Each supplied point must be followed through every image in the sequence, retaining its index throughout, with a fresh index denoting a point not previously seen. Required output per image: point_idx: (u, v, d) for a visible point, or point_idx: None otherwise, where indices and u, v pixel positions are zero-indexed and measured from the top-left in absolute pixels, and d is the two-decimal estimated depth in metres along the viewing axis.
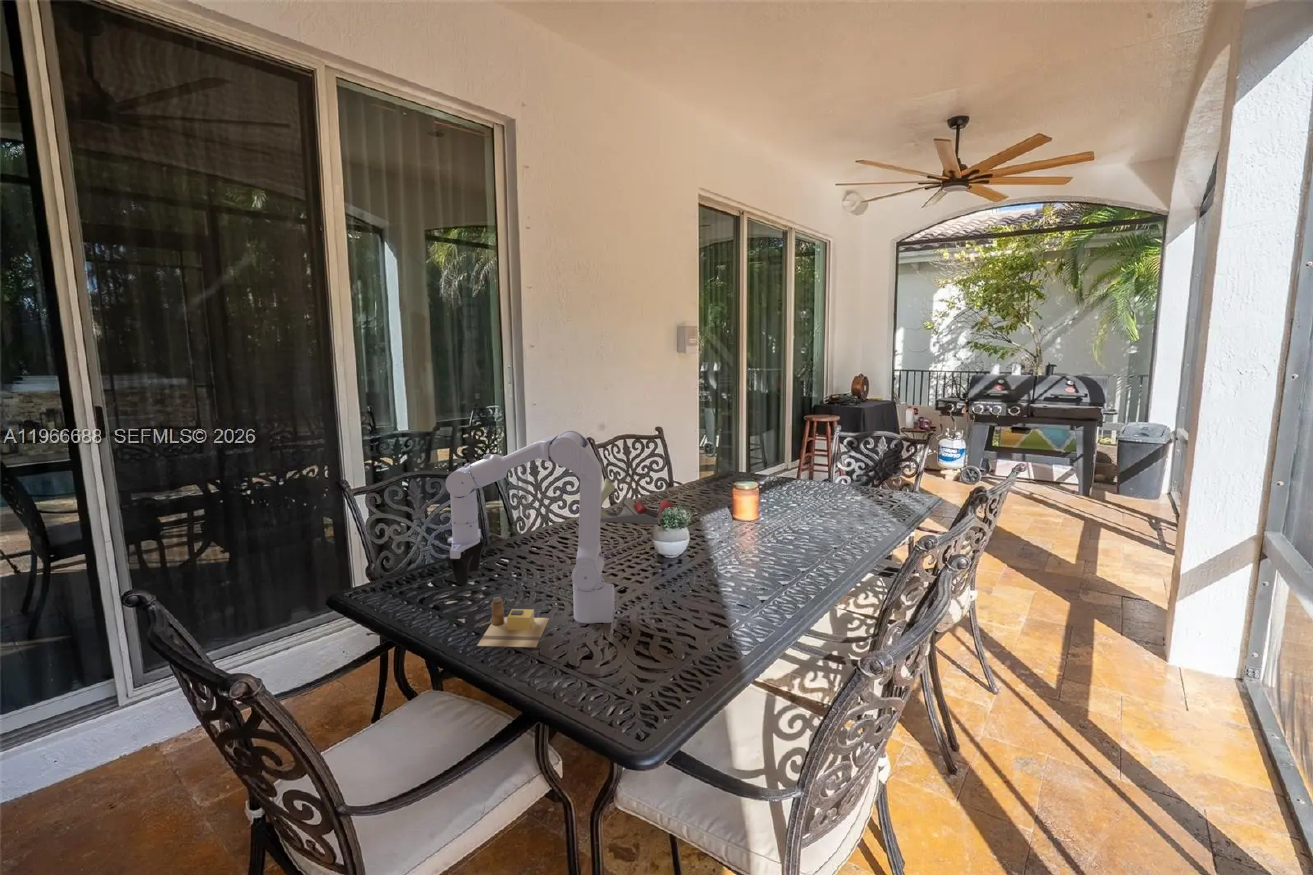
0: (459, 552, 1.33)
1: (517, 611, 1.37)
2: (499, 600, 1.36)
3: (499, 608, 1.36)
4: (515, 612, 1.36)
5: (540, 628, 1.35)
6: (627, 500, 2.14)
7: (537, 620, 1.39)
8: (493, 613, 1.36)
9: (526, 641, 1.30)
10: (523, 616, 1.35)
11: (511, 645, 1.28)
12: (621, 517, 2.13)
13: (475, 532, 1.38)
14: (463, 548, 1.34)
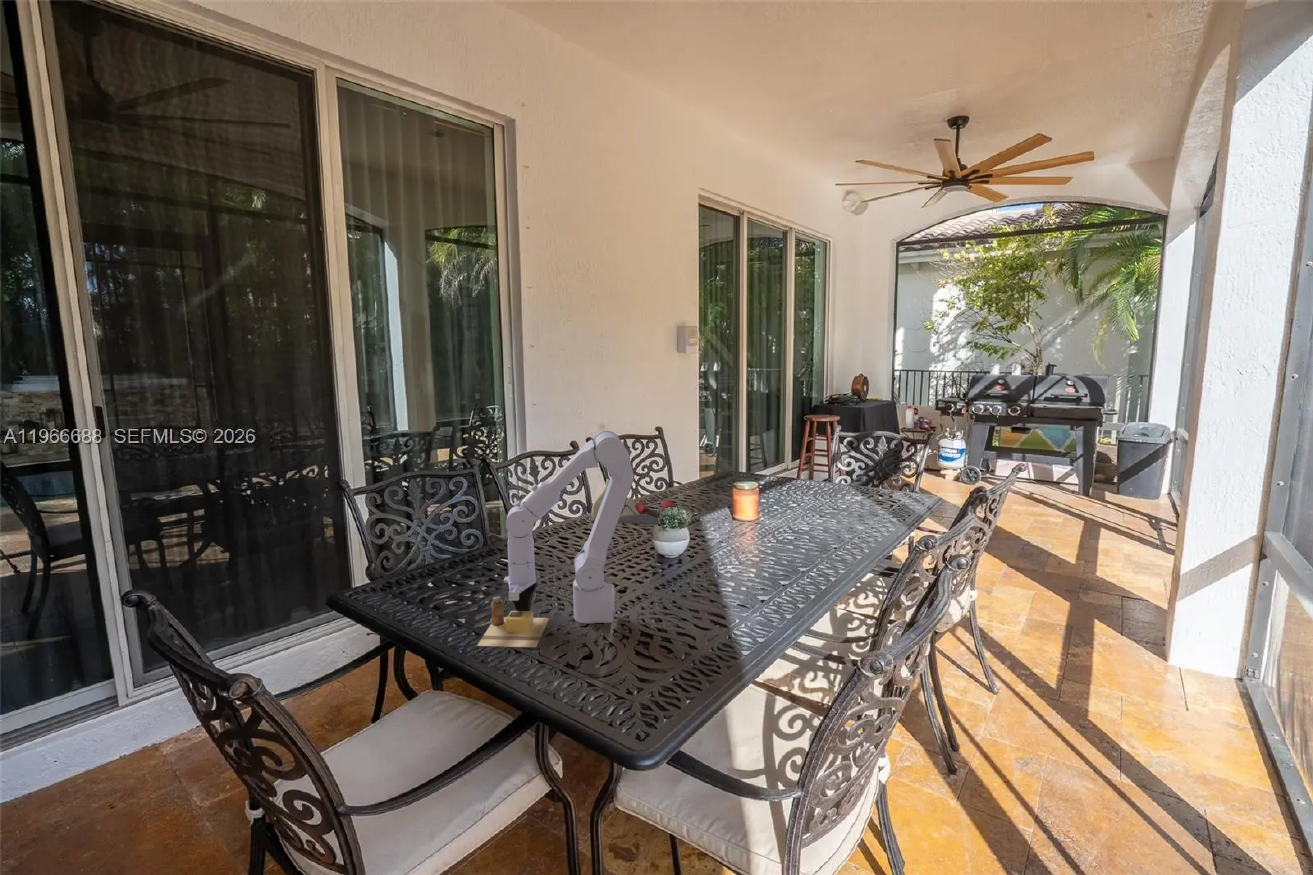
0: (518, 594, 1.30)
1: (516, 612, 1.36)
2: (499, 600, 1.36)
3: (499, 608, 1.36)
4: (514, 614, 1.35)
5: (540, 628, 1.35)
6: (629, 500, 2.14)
7: (537, 620, 1.39)
8: (493, 613, 1.36)
9: (526, 641, 1.30)
10: (522, 618, 1.34)
11: (511, 645, 1.28)
12: (623, 517, 2.13)
13: (531, 572, 1.36)
14: (521, 589, 1.32)
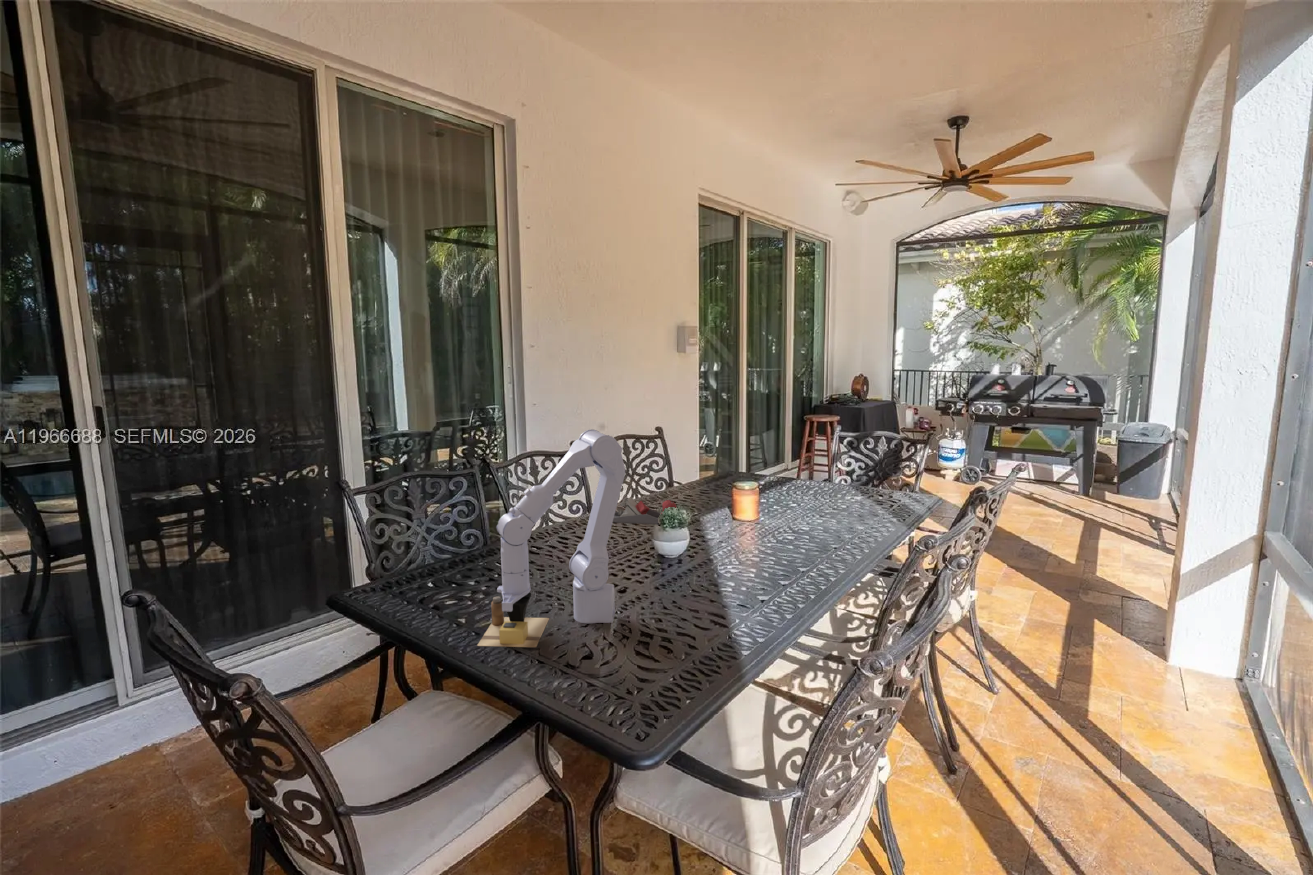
0: (511, 604, 1.25)
1: (510, 623, 1.31)
2: (499, 600, 1.36)
3: (499, 608, 1.36)
4: (508, 625, 1.30)
5: (540, 628, 1.35)
6: (629, 500, 2.14)
7: (537, 620, 1.39)
8: (493, 613, 1.36)
9: (526, 641, 1.30)
10: (516, 629, 1.29)
11: (511, 645, 1.28)
12: (623, 517, 2.13)
13: (526, 581, 1.30)
14: (515, 600, 1.27)
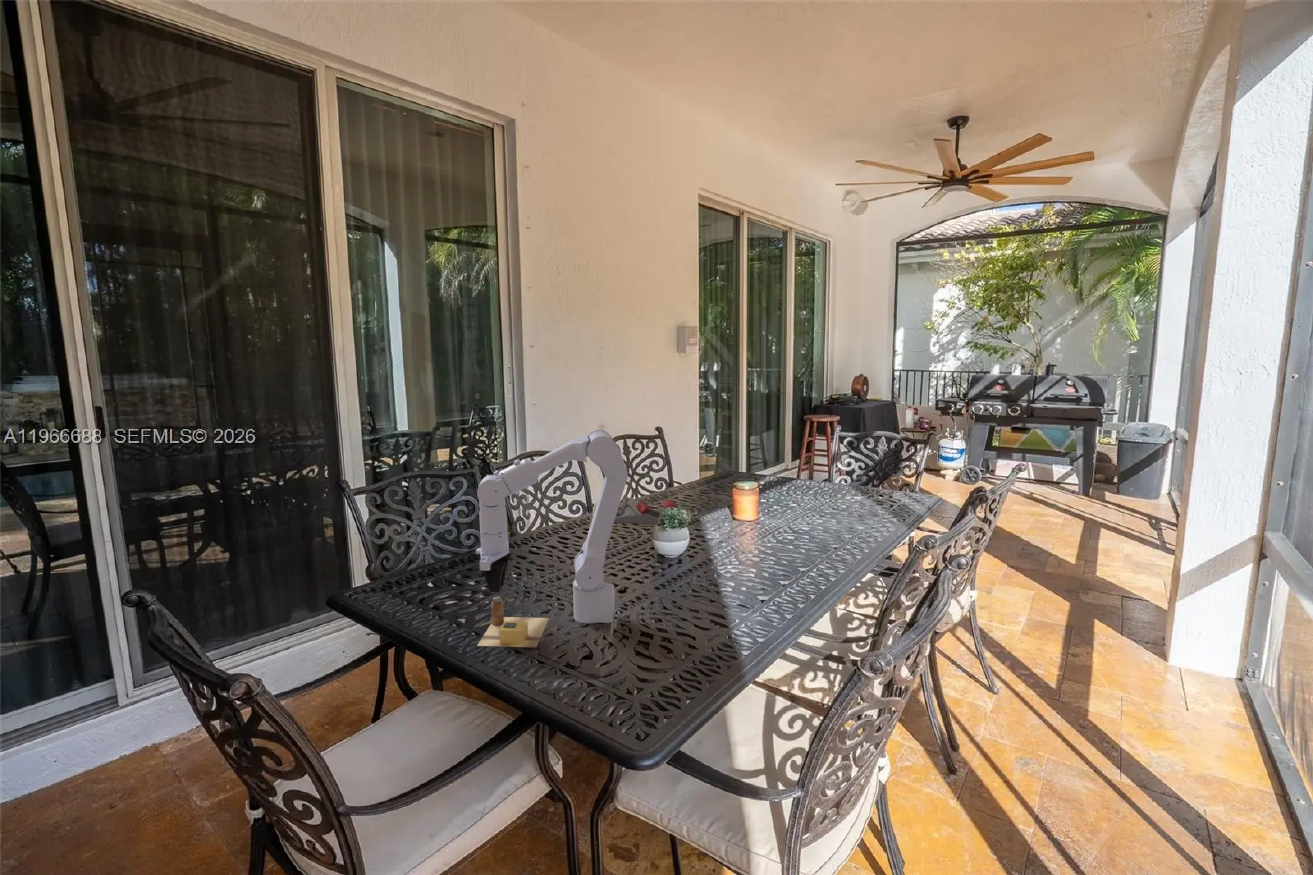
0: (489, 564, 1.28)
1: (510, 623, 1.31)
2: (499, 600, 1.36)
3: (499, 608, 1.36)
4: (508, 625, 1.30)
5: (540, 628, 1.35)
6: (630, 500, 2.14)
7: (537, 620, 1.39)
8: (493, 613, 1.36)
9: (526, 641, 1.30)
10: (516, 629, 1.29)
11: (511, 645, 1.28)
12: (624, 517, 2.13)
13: (504, 542, 1.33)
14: (493, 559, 1.30)
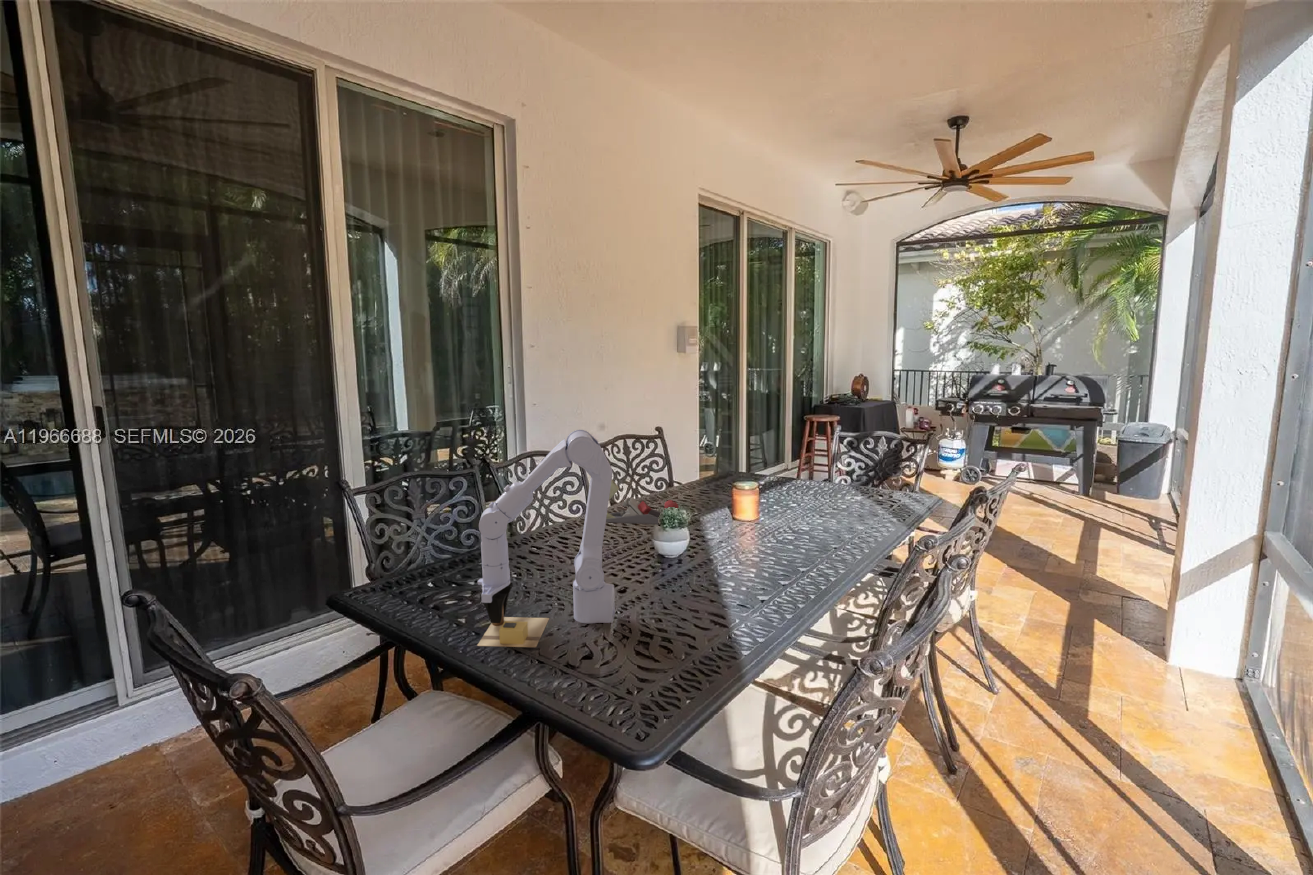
0: (491, 596, 1.29)
1: (510, 623, 1.31)
2: None
3: None
4: (508, 625, 1.30)
5: (540, 628, 1.35)
6: (631, 500, 2.14)
7: (537, 620, 1.39)
8: None
9: (526, 641, 1.30)
10: (516, 629, 1.29)
11: (511, 645, 1.28)
12: (625, 517, 2.12)
13: (505, 573, 1.34)
14: (494, 591, 1.31)
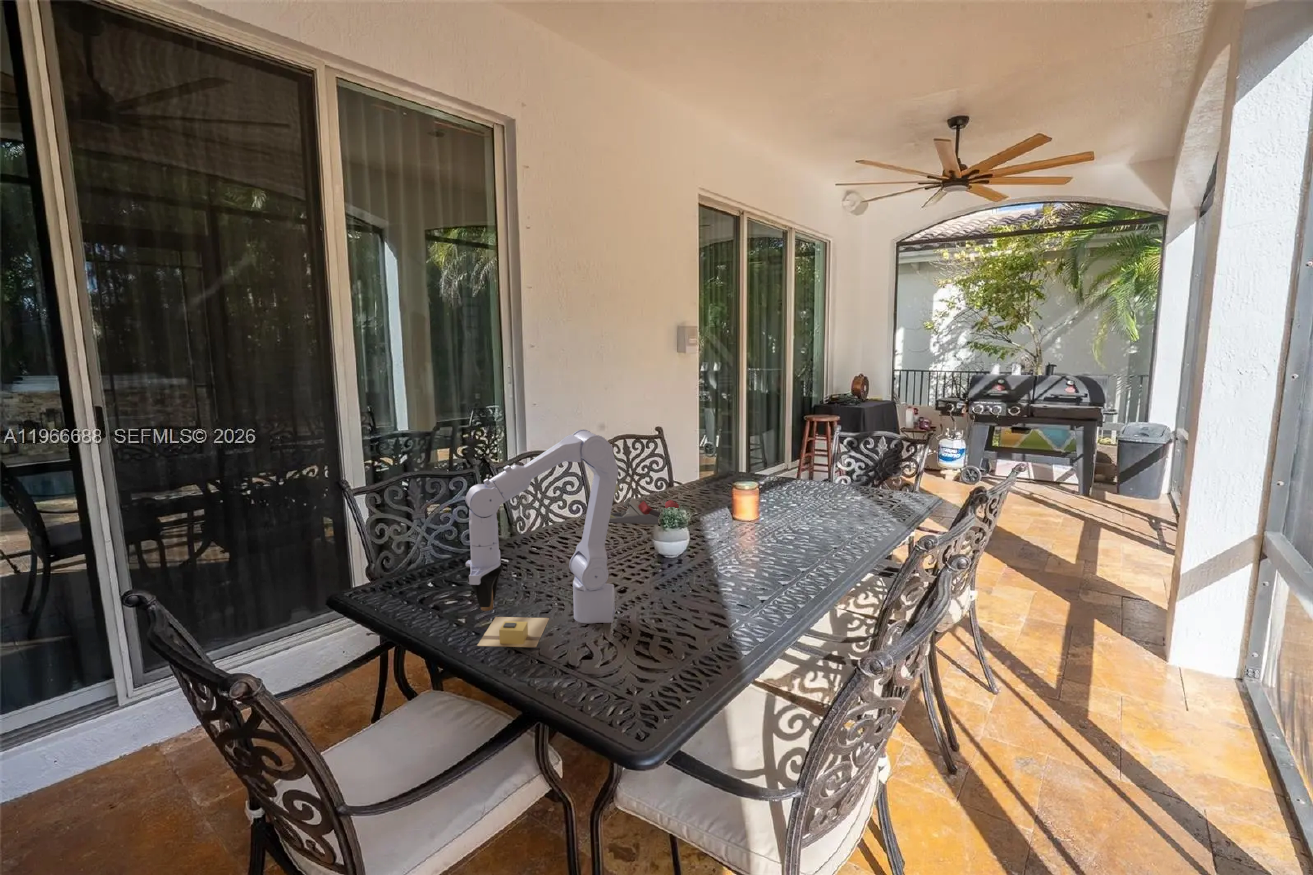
0: (479, 577, 1.22)
1: (510, 623, 1.31)
2: None
3: None
4: (508, 625, 1.30)
5: (540, 628, 1.35)
6: (632, 500, 2.14)
7: (537, 620, 1.39)
8: None
9: (526, 641, 1.30)
10: (516, 629, 1.29)
11: (511, 645, 1.28)
12: (626, 517, 2.12)
13: (495, 554, 1.27)
14: (483, 573, 1.23)
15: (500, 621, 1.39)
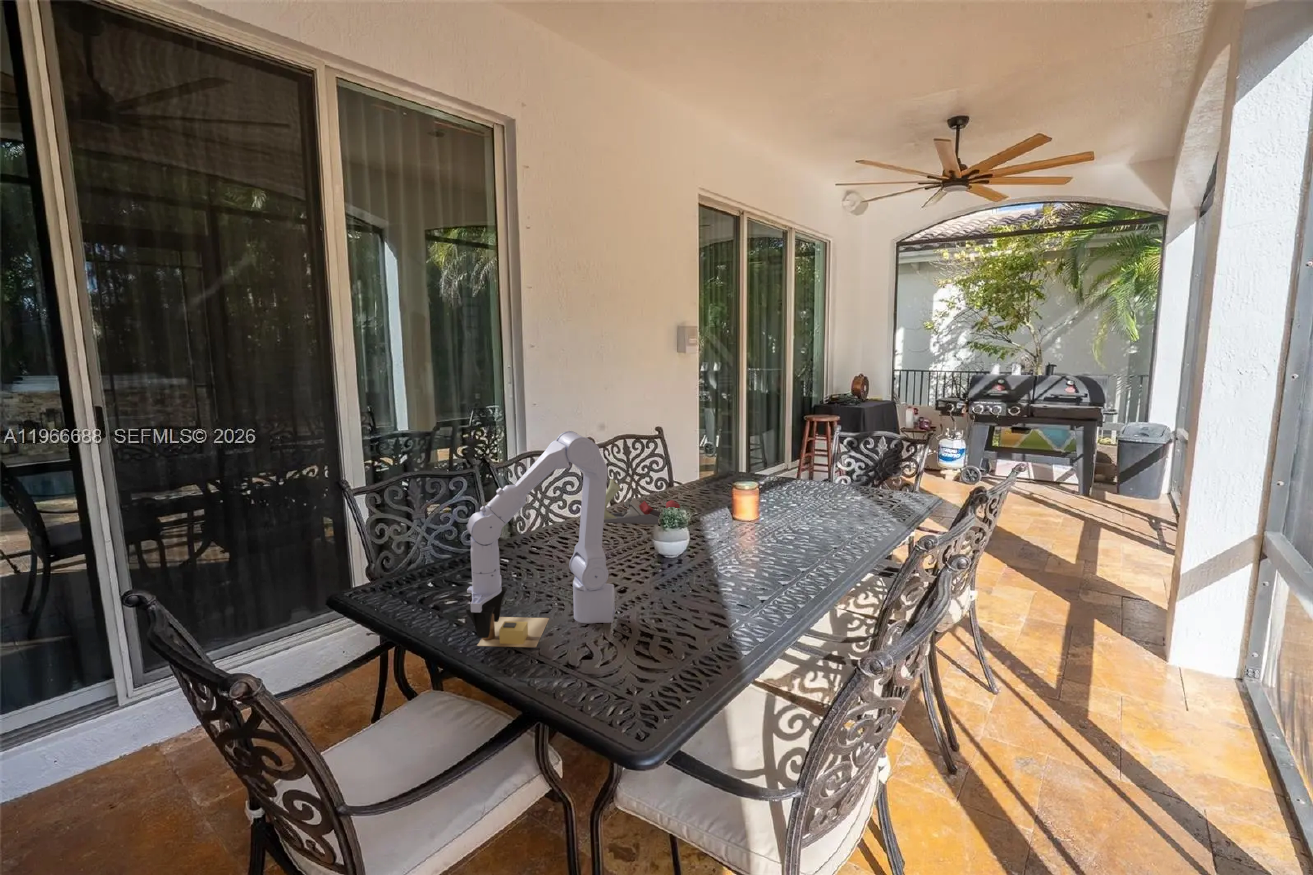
0: (480, 605, 1.23)
1: (510, 623, 1.31)
2: None
3: None
4: (508, 625, 1.30)
5: (540, 628, 1.35)
6: (633, 500, 2.14)
7: (537, 620, 1.39)
8: None
9: (526, 641, 1.30)
10: (516, 629, 1.29)
11: (511, 645, 1.28)
12: (627, 518, 2.12)
13: (496, 581, 1.28)
14: (484, 600, 1.24)
15: (500, 621, 1.39)
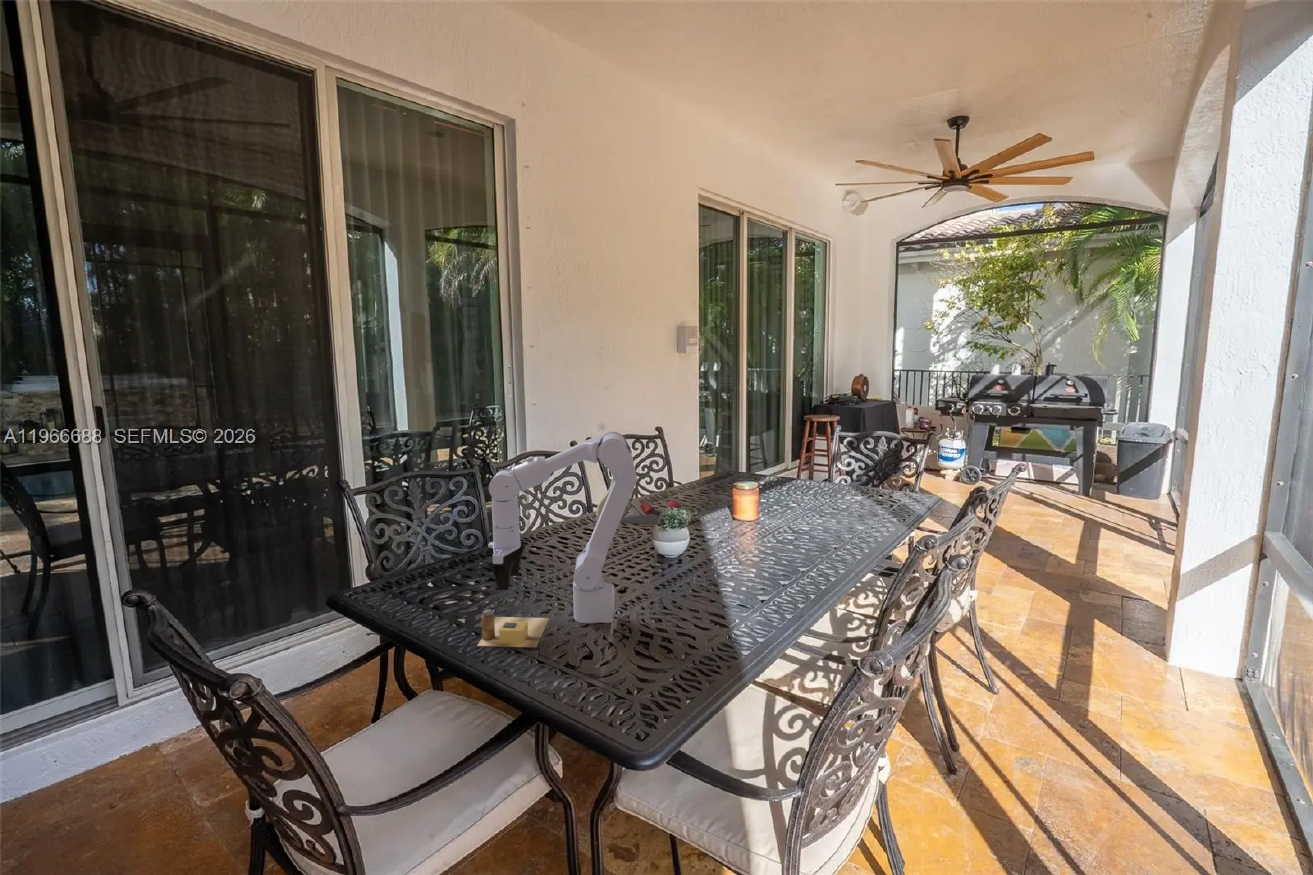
0: (502, 557, 1.30)
1: (510, 623, 1.31)
2: (490, 613, 1.30)
3: (489, 622, 1.30)
4: (508, 625, 1.30)
5: (540, 628, 1.35)
6: (634, 501, 2.14)
7: (537, 620, 1.39)
8: (483, 627, 1.30)
9: (526, 641, 1.30)
10: (516, 629, 1.29)
11: (511, 645, 1.28)
12: (628, 518, 2.12)
13: (516, 536, 1.35)
14: (505, 553, 1.32)
15: (500, 621, 1.39)
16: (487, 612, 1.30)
